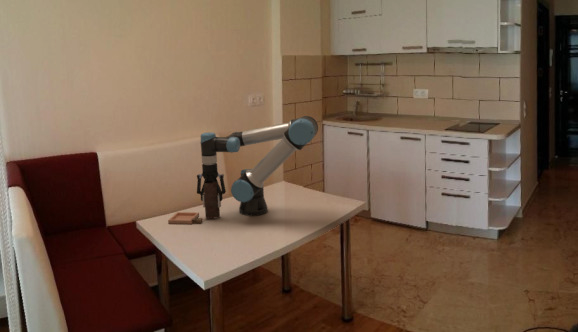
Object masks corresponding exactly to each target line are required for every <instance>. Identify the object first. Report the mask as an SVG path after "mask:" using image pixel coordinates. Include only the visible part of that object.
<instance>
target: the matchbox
mask: <svg viewBox="0 0 578 332" xmlns="http://www.w3.org/2000/svg"><path fill="white" fill-rule="evenodd" d="M191 220H192V224H191V225H202V224H203V218H202V217H201V218H200V217H198V218H193V219H191Z"/></svg>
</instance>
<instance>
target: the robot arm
mask: <svg viewBox="0 0 578 332" xmlns="http://www.w3.org/2000/svg"><path fill="white" fill-rule="evenodd" d="M318 131H319V124H318V122H317V120H316V119H315V118H314V117H312V116H309V115H304V116H301V117H297V118H295V119H290V120H289V121H288V122H284V123H280V124H273V125H269V126H264V127H259V128H253V129H248V130H243V131H234V132H232V133H230V134H229V135H227V136H216V133H215V132H209V131H208V132H203V133H201V134H200V142H199V143H200V149H201V151H200V153H201V167H202V173H199V174H196V178H197V184H196V185H197V187H196V194H197V195H200V200H201V202H202V206H203V207H202V208H205V196H204V183H207V182H209V181H211V182H216V181H218V179H219V183H220V184H219V183H218V184H217V191H218V208H219V209H220V208H221V207H222V201H223V195H224V194H226V186H225V181H224V180H225V179H224V176H225V174H223V173H222V174H220V173H219V172H218V164H217V162H218V157H217V156H218V155H217V153H230V154H231V153H239V151H240V147H245V146H250V145H257V144H260V143H261V144H263V143H266V142H272V141H278V143H277V144H276V145H275V146H274V147H272V149H271V150H269V152H268V153H266V154H265V156H264V157H262V159H261V160H260V161H259V162H257V164H255V166H254V167H253V168H246V169H242V170H241V171H240V176H239V177H238V178H237V180H234V181H233V183H232V185H231V188H230V192H231V195H232V197H233V198H234V199H235V200H236V201H238V202H240V204H239V207H238V208H239V209H238V211H239V212H238V213H239V214H240V215H244V216H249V217H251V216H253V217H254V216H261V215H264V214H267V212H268V209H269V208H268V205H267V202H266V200H265V199H266V198H265V196H264V195H265V193H264V189H265V188H264V186H265V185H264V182H265V181H266V180H268V178H270V177H271V176H272V175H273V174H274V172H276V170H278V169H279V168H280V167H281V166H282V165H283V164H284V163H285V162H286V161H287V160H288V159H289V158H290V157H291V156H292V155H293V154H294V153H295V152H296V151H301V150H302V149H304V147H305V146H306V145H308V143H310V142H311V141H312V140H313V139H314V137H315V136H316V135H317V133H318ZM279 140H280V141H279ZM202 178H203V179H204V180H203V185H202Z"/></svg>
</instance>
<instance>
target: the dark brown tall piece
mask: <svg viewBox="0 0 578 332" xmlns="http://www.w3.org/2000/svg"><path fill="white" fill-rule="evenodd" d="M203 184H204V196H205V207H204V209H205V210H204V212H205V218H207V219H216V218H221V214H220V213H221V212H220V211H221V210H220V208H218V194H219V193H218V191H217V184H219V181H218V180H217V181H216V182H211V181H209V182H207V183H204V182H203Z"/></svg>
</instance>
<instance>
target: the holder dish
mask: <svg viewBox="0 0 578 332" xmlns="http://www.w3.org/2000/svg"><path fill="white" fill-rule="evenodd" d="M193 218H200V212H191V211H190V212H186V211H184V212H183V211H182V212H181V211H180V212H179V211H178V212H175V214H173V215H172V216H171V217H170V218H169V219H168V221H167V222H168V225H193V224H192V220H191V219H193Z"/></svg>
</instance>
